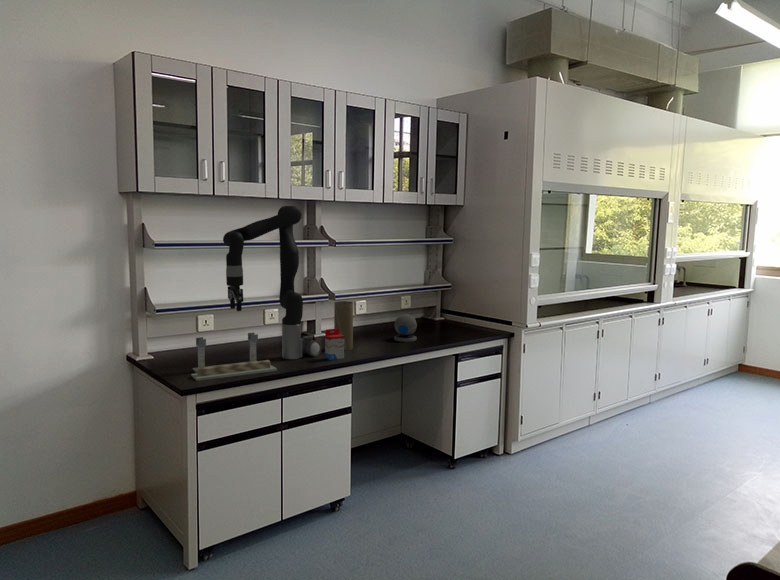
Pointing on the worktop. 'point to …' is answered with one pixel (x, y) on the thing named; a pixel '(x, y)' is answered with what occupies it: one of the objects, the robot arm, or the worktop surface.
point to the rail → (233, 368)
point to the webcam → (405, 328)
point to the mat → (233, 374)
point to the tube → (344, 321)
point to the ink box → (334, 345)
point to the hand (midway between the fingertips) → (235, 309)
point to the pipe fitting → (310, 346)
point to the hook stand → (201, 363)
